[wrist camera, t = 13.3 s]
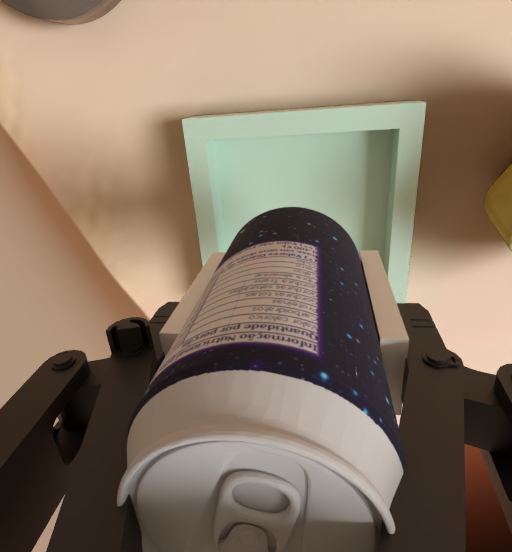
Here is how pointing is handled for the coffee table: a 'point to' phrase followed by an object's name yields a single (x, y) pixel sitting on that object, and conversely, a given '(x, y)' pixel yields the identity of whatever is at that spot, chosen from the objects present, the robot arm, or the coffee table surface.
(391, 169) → the tray
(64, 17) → the crank base
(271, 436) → the beverage can
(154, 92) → the coffee table surface
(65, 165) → the coffee table surface
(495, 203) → the flower pot
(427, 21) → the coffee table surface
